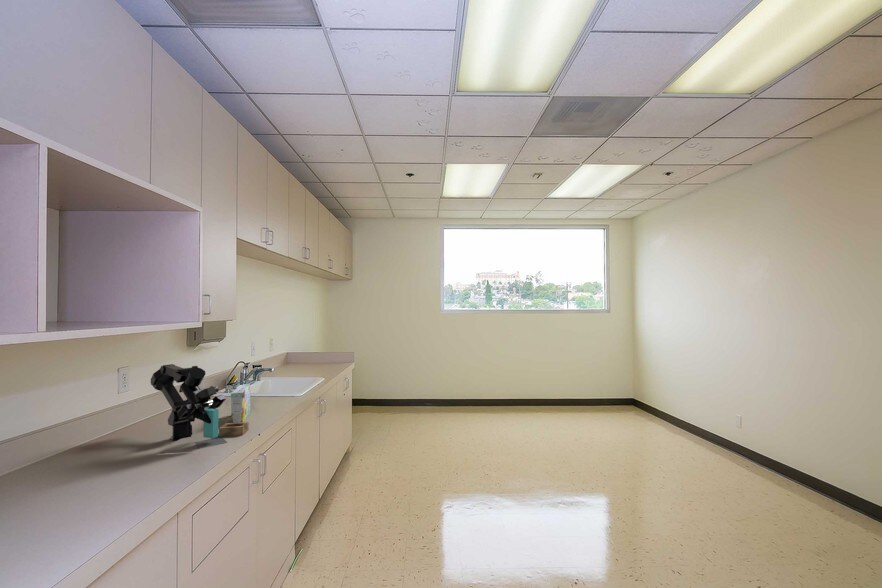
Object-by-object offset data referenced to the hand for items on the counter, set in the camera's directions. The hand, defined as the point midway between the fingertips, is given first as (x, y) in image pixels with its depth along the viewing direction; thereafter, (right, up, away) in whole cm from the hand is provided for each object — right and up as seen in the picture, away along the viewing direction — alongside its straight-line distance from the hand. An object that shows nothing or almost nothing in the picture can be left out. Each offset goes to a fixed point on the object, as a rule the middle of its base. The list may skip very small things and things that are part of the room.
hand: (213, 421), depth 157 cm
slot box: (+2, -9, +11) cm, 15 cm away
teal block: (-1, -6, 0) cm, 6 cm away
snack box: (-8, -11, +37) cm, 39 cm away
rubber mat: (-1, -9, 0) cm, 9 cm away
